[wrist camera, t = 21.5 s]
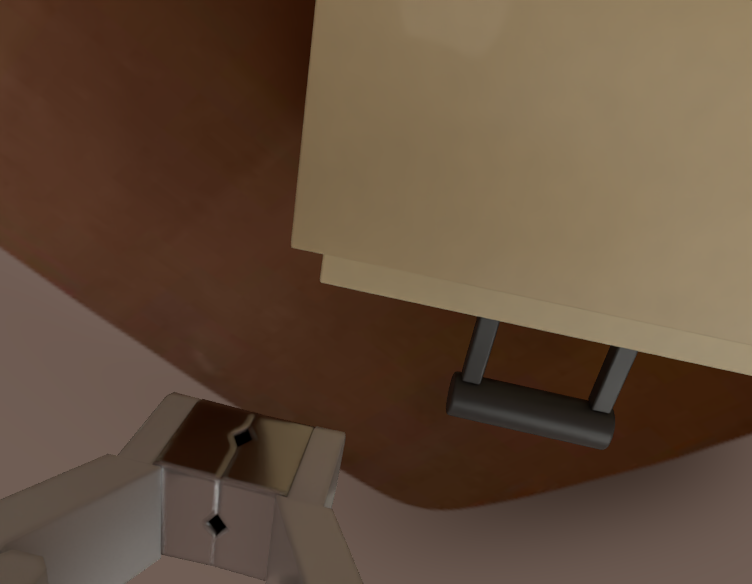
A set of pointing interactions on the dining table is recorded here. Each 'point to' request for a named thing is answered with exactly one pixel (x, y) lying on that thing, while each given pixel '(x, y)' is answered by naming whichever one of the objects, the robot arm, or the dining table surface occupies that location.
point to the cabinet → (539, 151)
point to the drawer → (530, 405)
